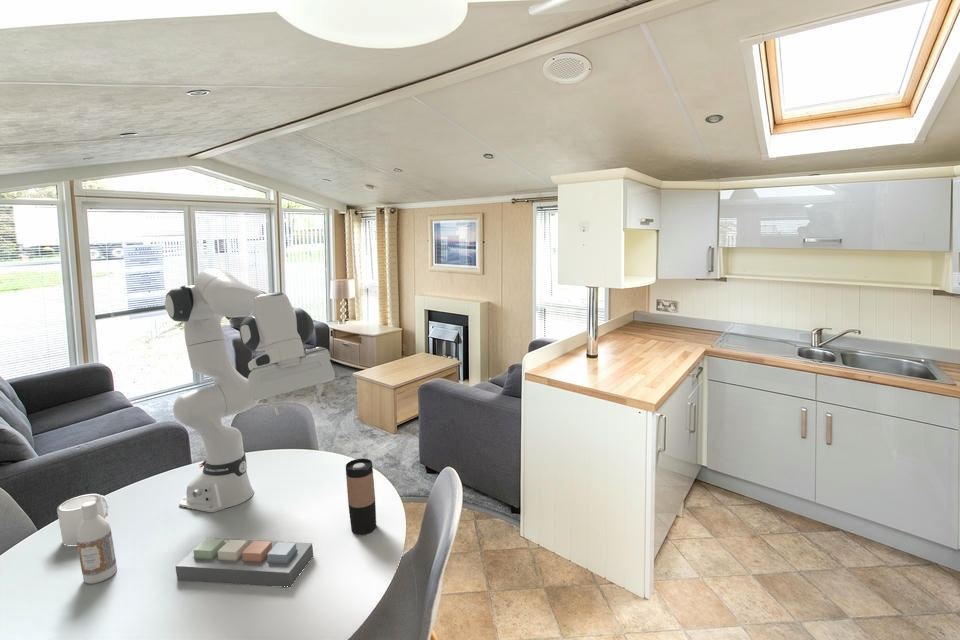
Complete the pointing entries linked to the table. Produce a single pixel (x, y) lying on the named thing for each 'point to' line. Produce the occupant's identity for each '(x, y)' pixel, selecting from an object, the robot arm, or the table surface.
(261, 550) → the terracotta key
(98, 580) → the bath foam
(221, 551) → the cream key
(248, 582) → the keypad
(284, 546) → the slate key
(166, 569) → the table surface
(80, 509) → the mug
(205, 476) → the robot arm
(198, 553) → the sage key
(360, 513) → the travel mug
